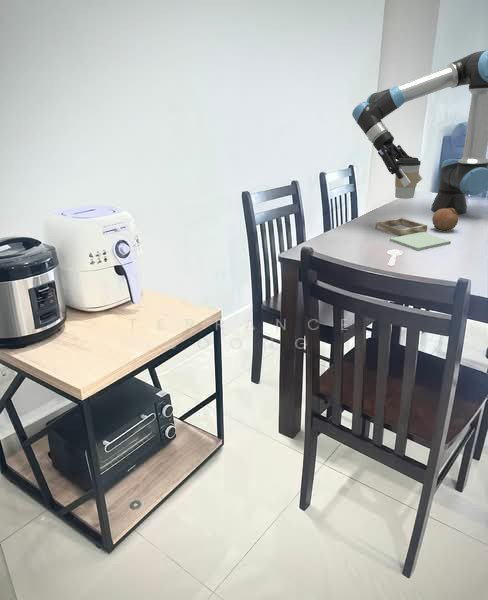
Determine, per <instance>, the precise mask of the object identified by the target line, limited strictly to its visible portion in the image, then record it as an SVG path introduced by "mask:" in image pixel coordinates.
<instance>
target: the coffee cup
mask: <svg viewBox="0 0 488 600" xmlns="http://www.w3.org/2000/svg"><path fill="white" fill-rule="evenodd" d="M396 162H397V164H398V167H399V169H402V171H403V172H404V173H405V175H406V176H407V178H408V179H409V180H410V182H411V183H409V184H408V185H407V186H406V187H404V186H403V184H402V183H401V181H400V180H399V179H398V177H397V176H396V175H395V174H394V175H395V177H394V179H395V181H394V183H395V184H394V187H395V189H394V190H395V193H394V195H395V197H394V198H396V199H401V200H402V199H403V200H405V199H406V200H410V199H414V197H415V192H416V187H417V186H418V185H417V184H418V183H417V180H418V175H419V174H420V166H421V164H422V163H421V161H420V160H419V158H418V157H414V156H413V157H412V156H410V155H408V156H405V157H403V158H399V160H396Z"/></svg>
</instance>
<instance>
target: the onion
mask: <svg viewBox="0 0 488 600" xmlns="http://www.w3.org/2000/svg"><path fill="white" fill-rule="evenodd" d="M458 216H459V215H458V214H457V212H456V210H455V209H453V208H443V209H439V210H437V211H436V212H434V213H433V216H432V219H431V221H432V224H433V227H434V228H435V230H436V231H441V232H449V231H451V230H453V229H454V228H456V226H457V225H458V222H459V217H458Z"/></svg>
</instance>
